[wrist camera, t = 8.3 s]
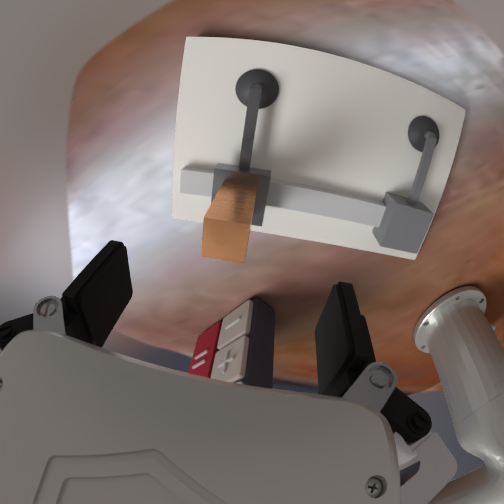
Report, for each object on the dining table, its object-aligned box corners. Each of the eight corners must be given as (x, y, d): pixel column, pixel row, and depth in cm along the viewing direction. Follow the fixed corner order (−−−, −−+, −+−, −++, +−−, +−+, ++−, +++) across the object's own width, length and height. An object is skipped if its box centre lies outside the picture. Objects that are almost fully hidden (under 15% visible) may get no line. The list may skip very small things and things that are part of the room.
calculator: (252, 291, 30) (235, 420, 18) (279, 312, 32) (275, 434, 19) (195, 333, 35) (167, 437, 22) (220, 349, 36) (201, 450, 24)
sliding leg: (285, 88, 17) (292, 82, 10) (263, 214, 23) (256, 276, 16) (230, 80, 17) (200, 72, 10) (215, 207, 23) (187, 265, 16)
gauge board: (457, 107, 17) (482, 113, 14) (409, 252, 26) (423, 274, 22) (191, 40, 17) (175, 31, 14) (177, 211, 26) (162, 231, 22)
